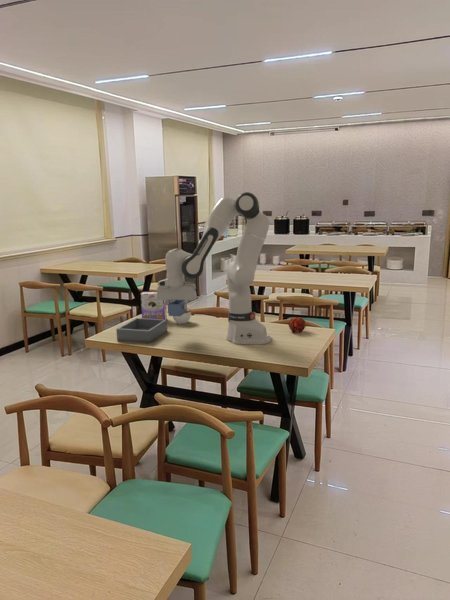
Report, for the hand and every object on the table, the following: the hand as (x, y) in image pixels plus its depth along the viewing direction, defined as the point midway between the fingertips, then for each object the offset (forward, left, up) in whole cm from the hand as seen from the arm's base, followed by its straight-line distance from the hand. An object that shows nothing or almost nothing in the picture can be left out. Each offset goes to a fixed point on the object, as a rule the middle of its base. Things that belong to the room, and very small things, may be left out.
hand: (177, 308), depth 236 cm
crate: (+20, 0, -15) cm, 25 cm away
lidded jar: (+9, -28, -16) cm, 33 cm away
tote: (0, 0, -3) cm, 3 cm away
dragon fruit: (-57, -24, -16) cm, 64 cm away
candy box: (+27, -30, -16) cm, 43 cm away
